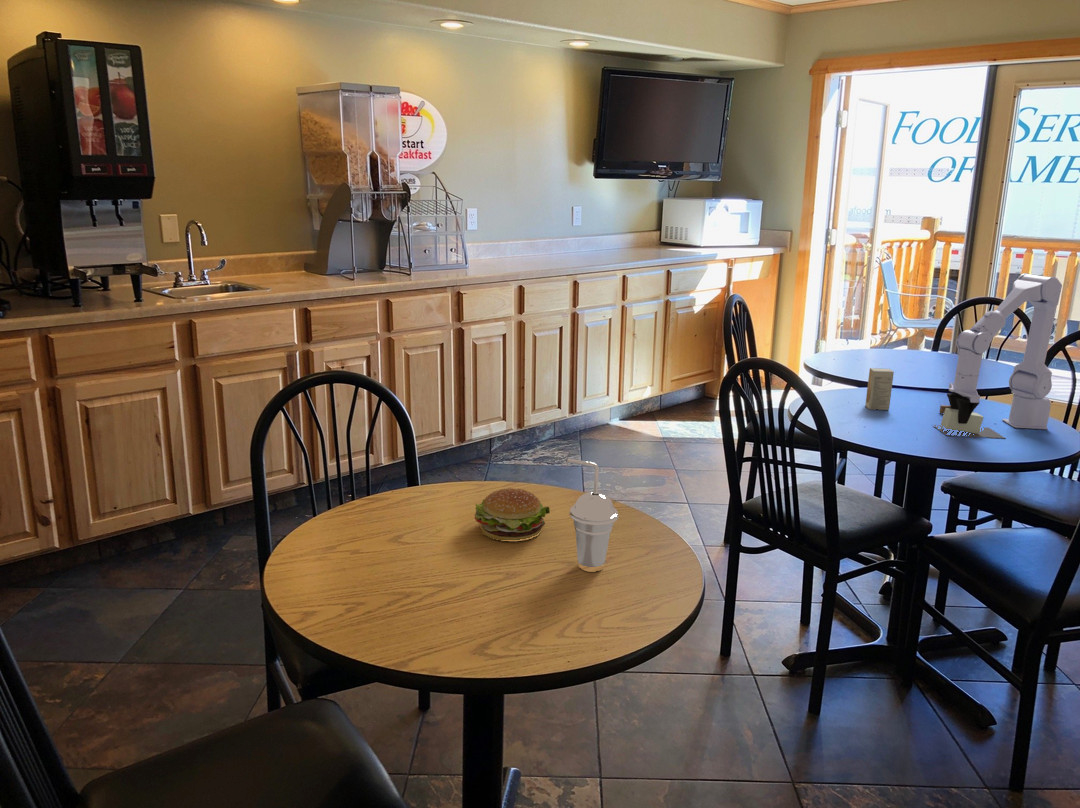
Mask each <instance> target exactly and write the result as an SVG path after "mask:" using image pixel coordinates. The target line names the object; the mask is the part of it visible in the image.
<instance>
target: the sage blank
mask: <svg viewBox="0 0 1080 808" xmlns="http://www.w3.org/2000/svg"><path fill="white" fill-rule="evenodd" d="M942 415H943V416H942V419H941V422H940V425H942V426H944V427H945V428H946V429H952V430H958V431H964V432H970V433H976V434H979V431H980V427H982V424H983V421H984V416H983V415H982V414H979V412H974V411H973V412H972V414H971V416H970V418H969V420H968V422H967V424H960V423H958V410H956V409H950V408H946V409H945V412H944V414H942Z"/></svg>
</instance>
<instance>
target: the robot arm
mask: <svg viewBox="0 0 1080 808" xmlns="http://www.w3.org/2000/svg"><path fill="white" fill-rule="evenodd" d="M1062 287H1063V284H1062V283H1061V281H1060V280H1059V279H1058V278H1057V277H1055V276H1046V275H1037V274H1030V273H1026V272H1025V273H1022V274H1020V275H1019V276H1018V277H1017V279H1016V280H1015V281H1014V282H1013V284H1012V290H1011V291H1010V293H1008V295H1007V296H1006V297H1005V298H1004V299H1003V301H1001V302H1000V304H999V305H998V306H997V308H996V309H995V310H988V311H986V312H985V313H984V314H983V316H982V317H980V319H979V320H978V321H976V323H975V324H974V325H973V326H972V327H971V328H969V329H966V330H963V331H962V332H960V333H959V335H958V336H957V339H956V340H955V345H956V348H957V356H958V357H957V358H958V359H957V362H956V363H957V364H956V369H955V375H954V382H949V384H948V385H949V386H948V391H949V392H947V393H946V396H947V398H948V402H949V406H950V409H956V410H958V423H960V424H967V422H968V420H969V418H970V416H971V414H972V412H974V410H975V409H976V408H977V407H978V406H979V405H980V398H981V395H979V394H978V390H977V387H978V380H979V376H980V369H981V364H982V360H983V353H985V352H987V351H988V350H989V348H990V346H991V342H992V341H993V338H994V337H995V336H996V334H998V333H999V332H1000V331H1001V330H1002V329H1003V328H1004V327H1005V326H1006V319H1007V318H1008V317H1009V316H1010V315H1012V313H1014V312H1015V311H1016V310H1018V308H1020V307H1021V306H1022V305H1023V304H1024V303H1026V302H1029V303H1030V304H1031V306H1032V307H1033V311H1032V312H1033V313H1032V316H1031V317H1032V318H1031V323H1030V326H1029V332H1028V336H1027V341H1026V346H1025V350H1024V355H1023V359H1022V360H1023V361H1021V362H1019V363H1017V364H1016V365H1015V366H1014V367H1013V371H1012V373H1011V375H1010V376H1009V379H1008V387H1009V389H1010V390H1011V393H1012V394H1013V395H1012V400H1011V405H1010V410H1009V411H1010V412H1009V414H1008V415H1009V417H1008V418H1002V419H1001V420H1002V421H1003V422H1005V423H1006V424H1008V425H1010V426H1011V427H1013V428H1016V429H1031V430H1033V429H1034V430H1035V429H1036V430H1048V429H1049V427H1048V422H1049V418H1050V412H1051V407H1052V405H1051V400H1050V399H1049V397H1046V396H1048V395H1049V394H1050V392H1051V390H1052V385H1053V382H1052V377H1053V375H1052V374H1053V372H1052V370H1050V368H1048V366H1047V365H1046V364H1045V363H1046V358H1047V353H1048V349H1049V344H1050V339H1051V334H1052V330H1053V326H1054V321H1055V317H1056V312H1057V308H1058V306H1059V301H1060V297H1061V294H1062V293H1061V292H1062Z"/></svg>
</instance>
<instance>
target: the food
mask: <svg viewBox="0 0 1080 808" xmlns="http://www.w3.org/2000/svg"><path fill="white" fill-rule="evenodd" d="M550 513H551V512H550V506H543V504H542V503H541V501H540V499H539V498H538V496H536V494H534V493H532V492H530V491H528V490H526V489H520V488H514V487H513V488H511V487H510V488H502V489H500V488H499V489H498V490H496V491H493V492H491V493H489V494H488V495H487V496H486V497H485V498H484V499H483V500H482V503H479V504H477V503H475V513H474V519H475V521H476V522H477V523H479V524H480V529H481V532H482V534H483V535H484V534H485V535H484V536H485V537H487V536H488V537H487V538H489V537H490V538H494V539H498V540H520V539H526V538H530V537H532V536H535V535H537V534H538V533H539V532H540V531H541V529H543V527H544V526H545V524H546V521H545V520H544V518H545V517H546V515H548V514H550ZM541 532H542V531H541ZM490 538H489V539H490ZM494 539H493V540H494ZM498 540H497V541H498Z"/></svg>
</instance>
